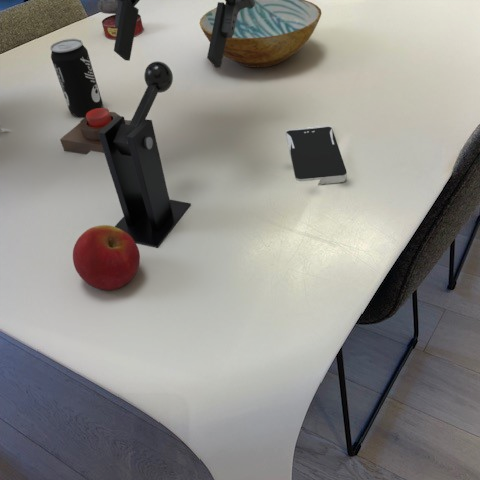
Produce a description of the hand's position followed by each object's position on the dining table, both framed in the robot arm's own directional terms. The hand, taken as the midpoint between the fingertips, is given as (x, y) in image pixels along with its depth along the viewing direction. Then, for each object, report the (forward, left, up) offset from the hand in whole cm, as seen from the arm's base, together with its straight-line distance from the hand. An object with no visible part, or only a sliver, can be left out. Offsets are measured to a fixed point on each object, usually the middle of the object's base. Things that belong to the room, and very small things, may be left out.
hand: (166, 59), depth 64 cm
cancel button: (-20, +7, -14) cm, 26 cm away
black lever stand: (0, -12, -18) cm, 21 cm away
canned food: (-47, +57, -18) cm, 76 cm away
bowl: (-6, +48, -18) cm, 52 cm away
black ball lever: (0, -6, -5) cm, 8 cm away
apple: (+1, -23, -18) cm, 30 cm away
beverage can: (-31, +17, -18) cm, 40 cm away
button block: (-20, +7, -18) cm, 28 cm away
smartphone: (+17, +11, -18) cm, 27 cm away
